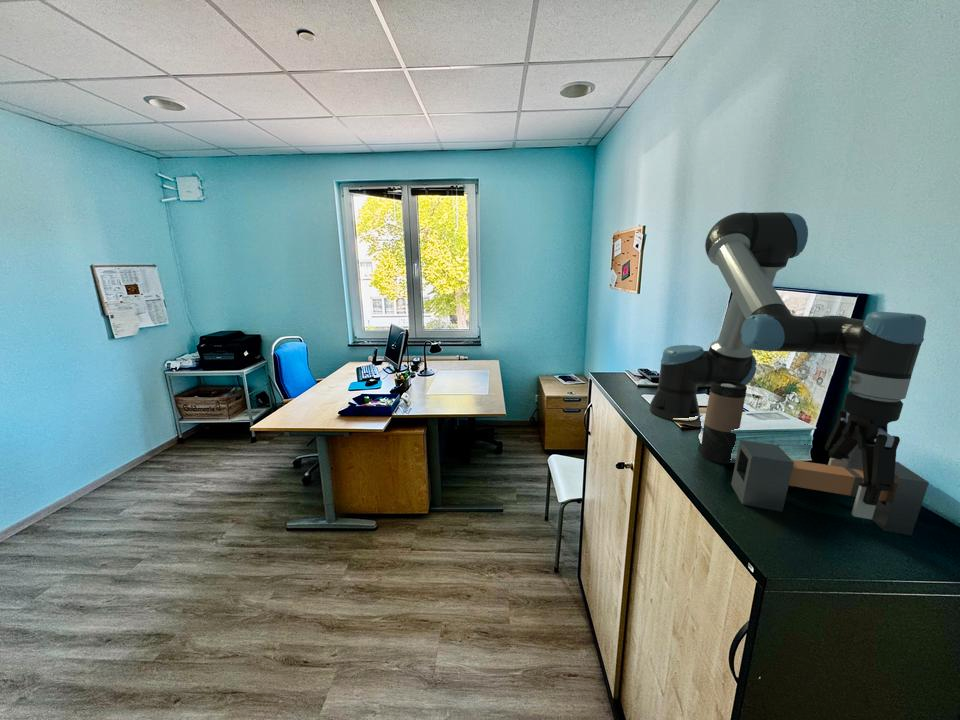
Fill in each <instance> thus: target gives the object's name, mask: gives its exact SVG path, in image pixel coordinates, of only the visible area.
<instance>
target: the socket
mask: <svg viewBox="0 0 960 720" xmlns="http://www.w3.org/2000/svg"><path fill="white" fill-rule="evenodd" d="M929 484H930V482H929V481H928V480H926V479H924V478H923V477H922V476H920V475H919V474H917V473H915V472H914V471H912V470H911V469H909V468H908V467H907V466H905V465H903V464H902V463H900V462H899V461H896V463H895V476H894V489H893V492H889V495H888V498H887V501H886V502H885V501H879V500H878V502H877V505H876V507H875V511H874V514H873V517H872V521H873V522H874V523H876V525H877V526H878V527H880V529H881V530H882V531H885V532H889V533H895V534H901V535H906V536H911V537H912V535H913V532H914V529H915V525H916V524H917V520H918V517H919V515H920V511H921V509H922V506H923V502H924V498H925V496H926V493H927V489H928V488H929Z"/></svg>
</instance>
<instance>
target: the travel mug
mask: <svg viewBox="0 0 960 720" xmlns="http://www.w3.org/2000/svg"><path fill="white" fill-rule="evenodd" d="M747 388H748V387H747V385H744V384H741V383H738V382H734V381H728V380H716V381H715V382H714V383H713V382H711V386H710V390H709V395H708V400H707V405H706V411H705V417H704V422H703V431H702V438H701V444H700V456H701V457H702V458H703V459H705V460H707V461H709V462H712V463H716V464H717V463H718V464H724V465H725V464H730V463H731V460H730V459H731V453H732V449H733V447H734V445H735V441H736V434H734V433H731V430H734V429H738V428H740V427H741V424H742V423H741V422H742V416H743V411H744V406H745V399H746V394H747Z"/></svg>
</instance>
